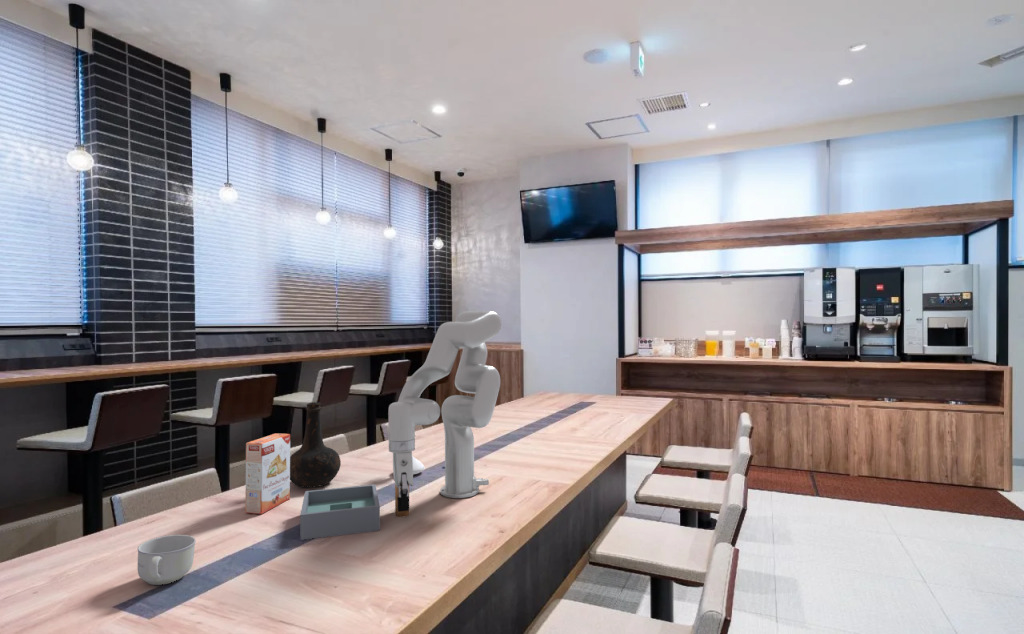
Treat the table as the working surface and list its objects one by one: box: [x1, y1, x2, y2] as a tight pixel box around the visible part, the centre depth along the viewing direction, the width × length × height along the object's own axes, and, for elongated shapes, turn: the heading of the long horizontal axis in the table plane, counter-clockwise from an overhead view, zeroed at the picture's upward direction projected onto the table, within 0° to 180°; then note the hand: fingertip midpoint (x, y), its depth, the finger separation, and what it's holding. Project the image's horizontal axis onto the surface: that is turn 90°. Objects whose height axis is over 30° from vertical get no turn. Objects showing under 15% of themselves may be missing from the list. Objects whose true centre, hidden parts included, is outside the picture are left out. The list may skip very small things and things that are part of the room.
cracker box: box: [245, 433, 291, 515], centre depth 165 cm, size 14×6×21 cm, turn 168°
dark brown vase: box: [290, 402, 342, 489], centre depth 186 cm, size 18×18×28 cm
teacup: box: [137, 534, 196, 586], centre depth 118 cm, size 14×11×8 cm
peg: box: [394, 483, 410, 518], centre depth 157 cm, size 4×4×10 cm
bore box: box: [299, 484, 381, 541], centre depth 152 cm, size 20×20×6 cm
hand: (402, 506), depth 157 cm, fingers open, 6 cm apart
